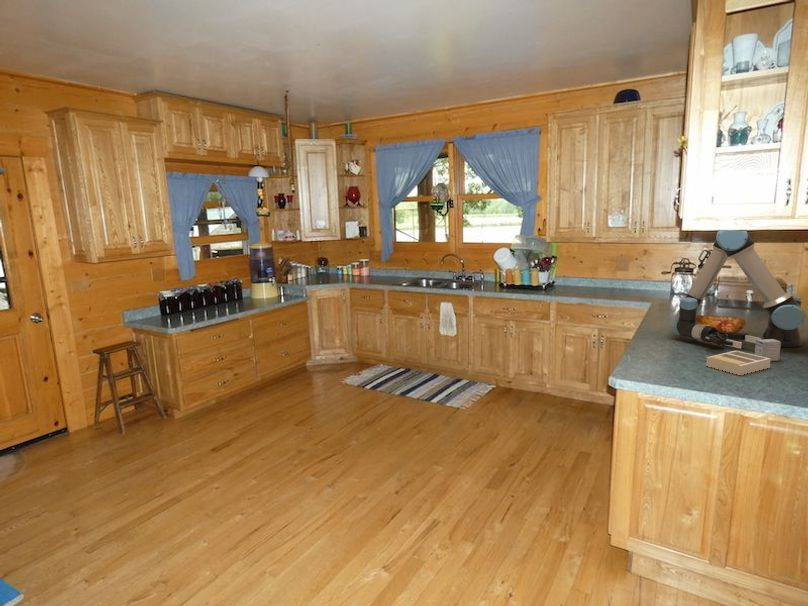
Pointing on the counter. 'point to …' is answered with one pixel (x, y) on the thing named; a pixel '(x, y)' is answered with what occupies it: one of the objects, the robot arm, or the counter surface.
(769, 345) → the medicine box
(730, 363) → the board
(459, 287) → the counter surface
